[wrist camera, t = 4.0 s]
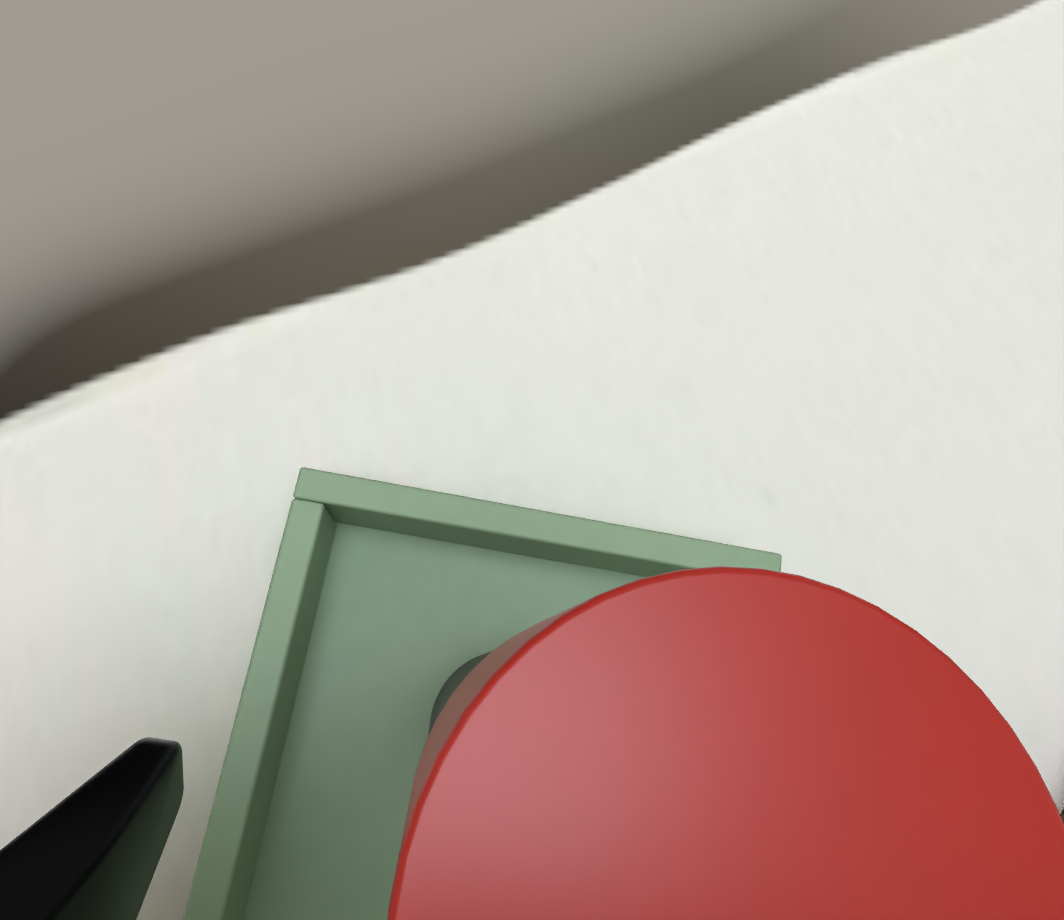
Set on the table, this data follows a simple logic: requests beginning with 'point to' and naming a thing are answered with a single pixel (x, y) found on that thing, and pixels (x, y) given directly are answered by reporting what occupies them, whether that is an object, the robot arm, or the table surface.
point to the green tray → (383, 675)
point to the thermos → (724, 769)
